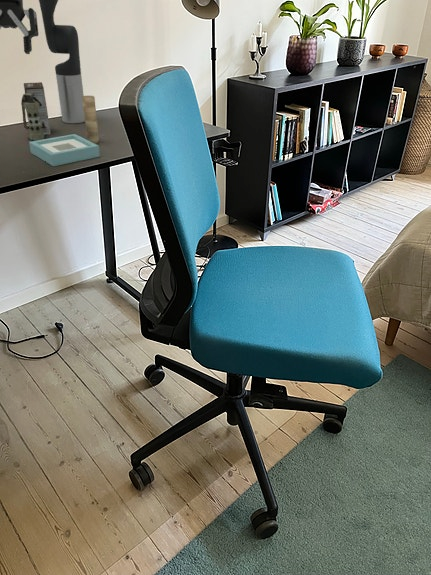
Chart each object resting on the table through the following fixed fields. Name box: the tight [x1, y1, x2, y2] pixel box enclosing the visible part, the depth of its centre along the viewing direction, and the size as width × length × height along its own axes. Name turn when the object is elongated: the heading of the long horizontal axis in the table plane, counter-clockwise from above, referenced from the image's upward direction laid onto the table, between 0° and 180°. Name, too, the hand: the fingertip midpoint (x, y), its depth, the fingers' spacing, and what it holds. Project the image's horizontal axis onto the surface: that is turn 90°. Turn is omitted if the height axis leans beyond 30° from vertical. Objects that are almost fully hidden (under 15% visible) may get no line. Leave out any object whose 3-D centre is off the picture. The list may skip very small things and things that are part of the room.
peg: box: [82, 95, 100, 145], centre depth 159 cm, size 4×4×15 cm
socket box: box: [28, 133, 101, 167], centre depth 150 cm, size 16×16×4 cm
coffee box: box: [23, 81, 52, 136], centre depth 167 cm, size 9×6×16 cm
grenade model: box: [20, 92, 46, 141], centre depth 161 cm, size 6×7×15 cm
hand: (10, 52), depth 121 cm, fingers open, 8 cm apart
